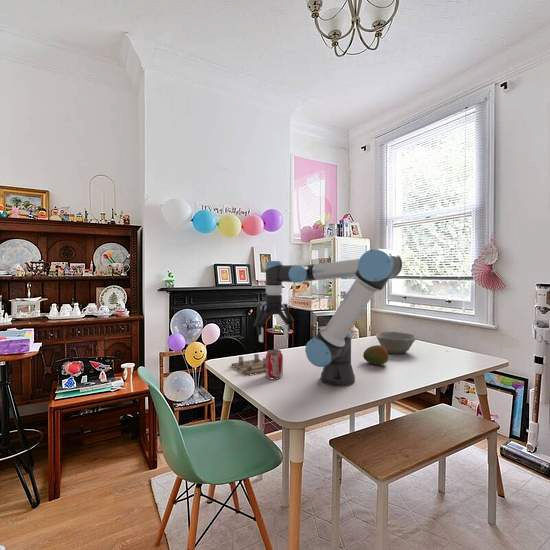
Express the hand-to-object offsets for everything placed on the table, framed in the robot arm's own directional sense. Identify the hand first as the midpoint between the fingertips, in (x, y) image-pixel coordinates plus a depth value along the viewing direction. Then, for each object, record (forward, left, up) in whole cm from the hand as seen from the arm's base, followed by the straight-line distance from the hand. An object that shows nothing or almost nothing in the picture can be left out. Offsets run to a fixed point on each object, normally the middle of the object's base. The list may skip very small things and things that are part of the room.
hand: (273, 339), depth 152 cm
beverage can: (0, 0, -18) cm, 18 cm away
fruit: (-12, -55, -18) cm, 59 cm away
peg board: (+17, +2, -17) cm, 24 cm away
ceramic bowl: (-2, -84, -18) cm, 86 cm away
